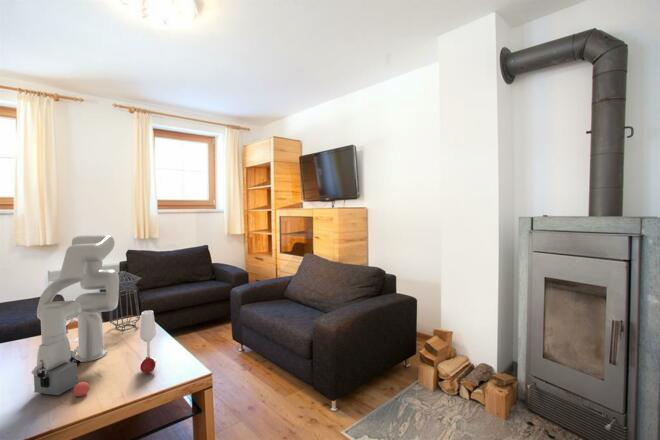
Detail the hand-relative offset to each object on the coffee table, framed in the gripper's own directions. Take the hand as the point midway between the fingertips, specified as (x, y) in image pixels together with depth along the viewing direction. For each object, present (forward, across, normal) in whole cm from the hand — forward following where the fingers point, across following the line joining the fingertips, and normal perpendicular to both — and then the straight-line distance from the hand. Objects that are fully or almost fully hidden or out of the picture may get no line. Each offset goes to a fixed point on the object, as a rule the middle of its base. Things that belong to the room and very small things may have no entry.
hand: (56, 380), depth 127 cm
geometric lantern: (+5, -64, -28) cm, 69 cm away
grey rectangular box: (+3, 0, 0) cm, 3 cm away
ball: (+2, 0, +12) cm, 13 cm away
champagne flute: (+5, -28, +19) cm, 34 cm away
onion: (+5, -18, +27) cm, 32 cm away
